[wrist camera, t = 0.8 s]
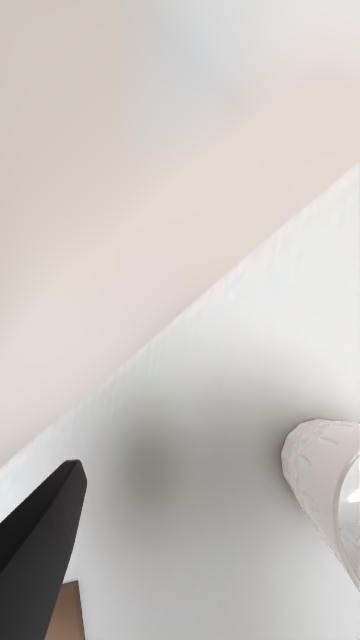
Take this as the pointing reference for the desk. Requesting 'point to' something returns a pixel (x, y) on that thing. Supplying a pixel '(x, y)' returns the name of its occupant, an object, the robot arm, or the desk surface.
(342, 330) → the desk surface
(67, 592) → the walnut trivet
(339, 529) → the white cup
